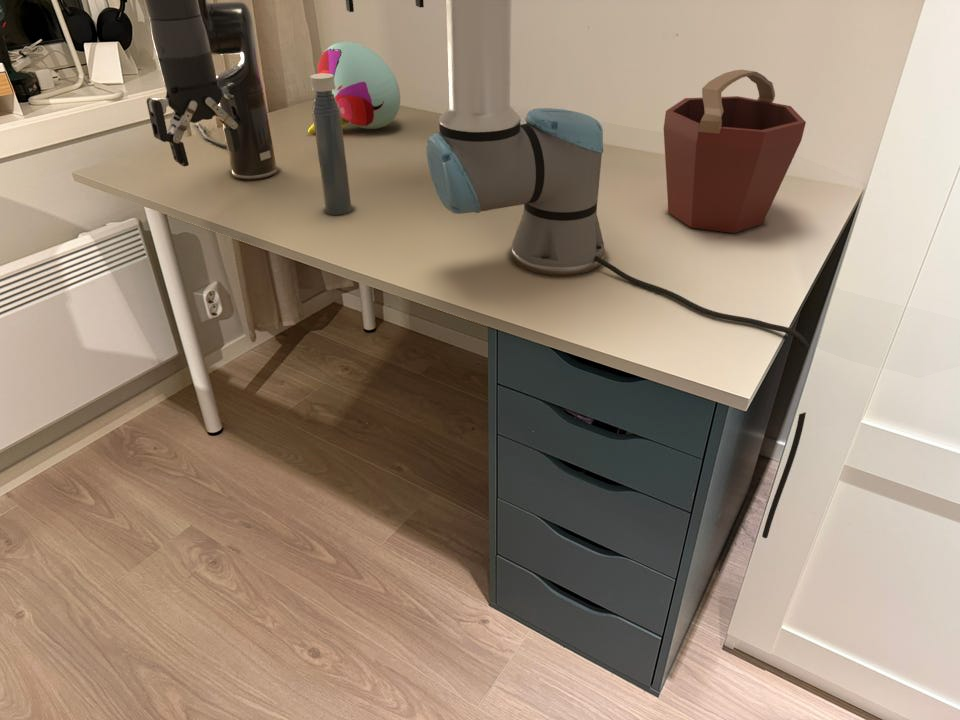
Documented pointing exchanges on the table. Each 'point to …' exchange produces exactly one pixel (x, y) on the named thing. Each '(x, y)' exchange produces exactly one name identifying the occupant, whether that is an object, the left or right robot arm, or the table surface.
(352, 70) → the toy
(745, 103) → the bucket
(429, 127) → the table surface
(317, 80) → the cap
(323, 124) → the bottle
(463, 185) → the right robot arm
